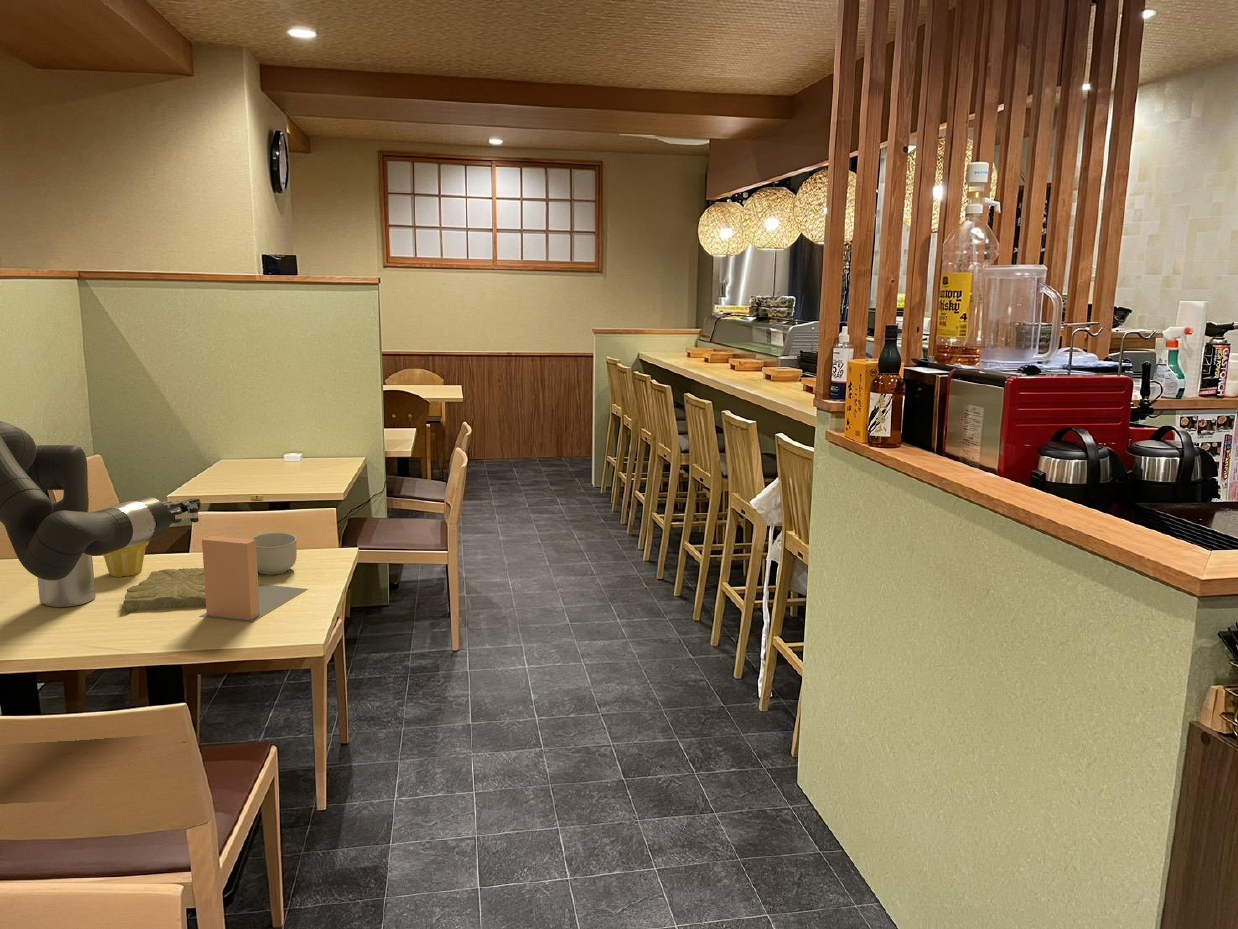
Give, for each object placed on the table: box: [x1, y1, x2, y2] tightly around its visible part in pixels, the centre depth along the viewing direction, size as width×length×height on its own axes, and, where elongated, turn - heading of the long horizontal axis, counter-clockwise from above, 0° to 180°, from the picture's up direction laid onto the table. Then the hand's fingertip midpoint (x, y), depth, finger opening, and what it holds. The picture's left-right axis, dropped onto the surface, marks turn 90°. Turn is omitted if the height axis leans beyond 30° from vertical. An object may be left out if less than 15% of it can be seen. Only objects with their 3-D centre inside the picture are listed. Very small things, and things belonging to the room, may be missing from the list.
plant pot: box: [102, 541, 150, 578], centre depth 206 cm, size 10×10×10 cm
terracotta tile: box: [201, 535, 260, 620], centre depth 180 cm, size 10×3×16 cm, turn 79°
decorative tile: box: [122, 567, 206, 613], centre depth 193 cm, size 19×20×4 cm
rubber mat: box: [199, 583, 309, 624], centre depth 189 cm, size 12×21×1 cm, turn 169°
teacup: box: [250, 532, 298, 576], centre depth 210 cm, size 14×11×8 cm
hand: (196, 504), depth 167 cm, fingers closed
